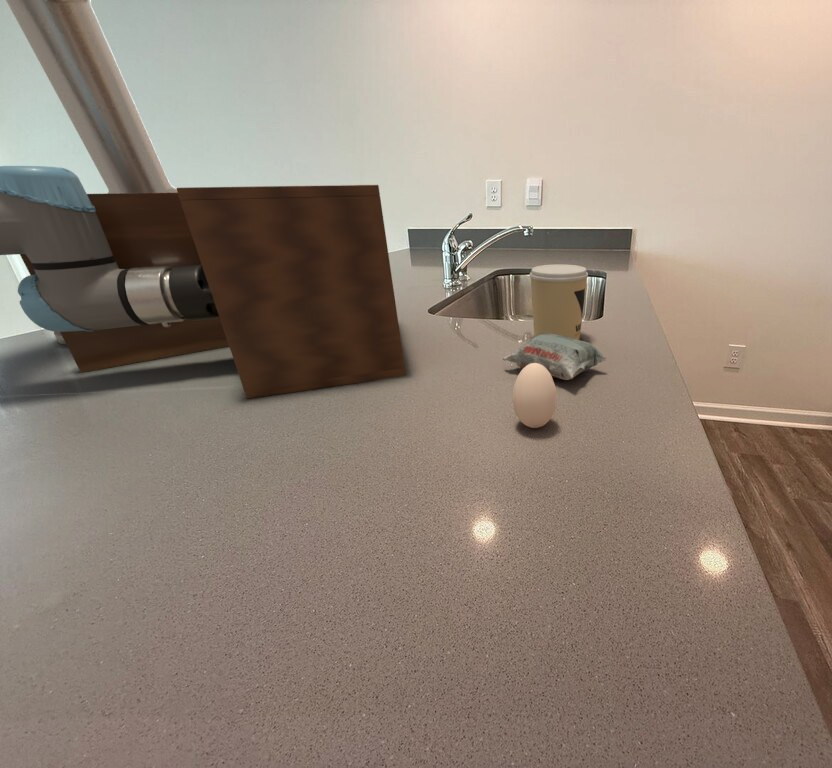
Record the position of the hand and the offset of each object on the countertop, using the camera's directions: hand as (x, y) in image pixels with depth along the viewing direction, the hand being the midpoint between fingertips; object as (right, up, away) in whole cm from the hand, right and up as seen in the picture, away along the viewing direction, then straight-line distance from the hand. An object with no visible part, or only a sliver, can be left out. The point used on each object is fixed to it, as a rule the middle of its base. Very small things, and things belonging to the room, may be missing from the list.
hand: (358, 280), depth 63 cm
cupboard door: (-32, -10, +7) cm, 34 cm away
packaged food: (+30, -15, -5) cm, 33 cm away
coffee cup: (+32, -9, +8) cm, 34 cm away
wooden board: (-5, -11, +3) cm, 13 cm away
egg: (+26, -21, -18) cm, 38 cm away
